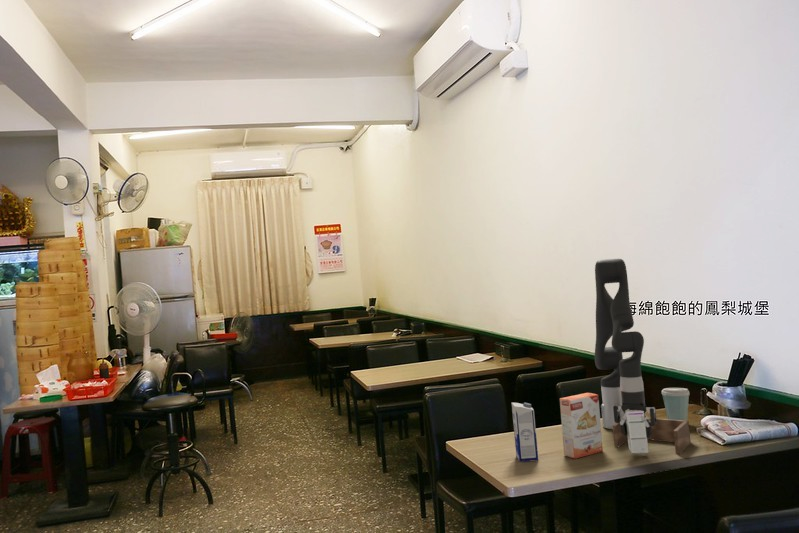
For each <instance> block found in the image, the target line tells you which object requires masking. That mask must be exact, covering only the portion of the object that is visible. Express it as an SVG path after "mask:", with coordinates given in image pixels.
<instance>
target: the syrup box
mask: <svg viewBox="0 0 799 533" xmlns="http://www.w3.org/2000/svg"><path fill="white" fill-rule="evenodd" d="M625 412H626V428H627V437H628V440H627V443H628V450H629V451H630V453H631V454H648V453H649V445H648V439H647V437H646V426H645V421H643V422H642V421H641V419H642V418H641V415H642V417H643V418H644V411H641V410H638V411H635V410H629V411H627V410H625ZM644 419H645V418H644Z"/></svg>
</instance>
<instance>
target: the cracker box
mask: <svg viewBox="0 0 799 533" xmlns="http://www.w3.org/2000/svg"><path fill="white" fill-rule="evenodd" d="M559 406H560V407H559V408H560V420H561V431H562V444H563V455H564V456H565V457H569V458H572V459H575V460H576V459H579V458H582V457H586V455H587V456H590V455H593V454H594V455H595V454H597V452H598V453H601V451H602V452H603V451H604V448H603V438H602V437H603V435H602V422H601V413H600V412H601V411H600V410H601V409H600V399H599V394H596V393H592V392H584V393H579V394H575V395H570V396H566V397H560V398H559Z"/></svg>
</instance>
